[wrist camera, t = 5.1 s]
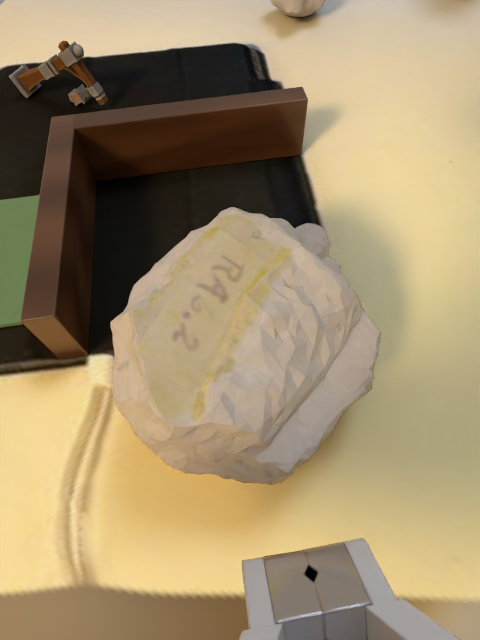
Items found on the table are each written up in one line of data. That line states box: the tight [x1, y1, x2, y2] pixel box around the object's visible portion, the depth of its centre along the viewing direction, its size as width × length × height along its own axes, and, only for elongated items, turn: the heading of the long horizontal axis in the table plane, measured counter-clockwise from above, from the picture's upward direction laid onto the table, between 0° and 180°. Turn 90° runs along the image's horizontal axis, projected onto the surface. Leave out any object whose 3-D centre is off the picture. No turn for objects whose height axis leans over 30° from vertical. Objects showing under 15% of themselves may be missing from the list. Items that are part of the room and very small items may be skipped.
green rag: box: [0, 195, 40, 328], centre depth 24 cm, size 10×6×1 cm, turn 9°
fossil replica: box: [111, 207, 381, 485], centre depth 16 cm, size 12×8×10 cm
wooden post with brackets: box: [9, 41, 108, 106], centre depth 31 cm, size 2×8×4 cm, turn 68°
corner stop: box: [20, 87, 308, 359], centre depth 23 cm, size 15×16×4 cm
